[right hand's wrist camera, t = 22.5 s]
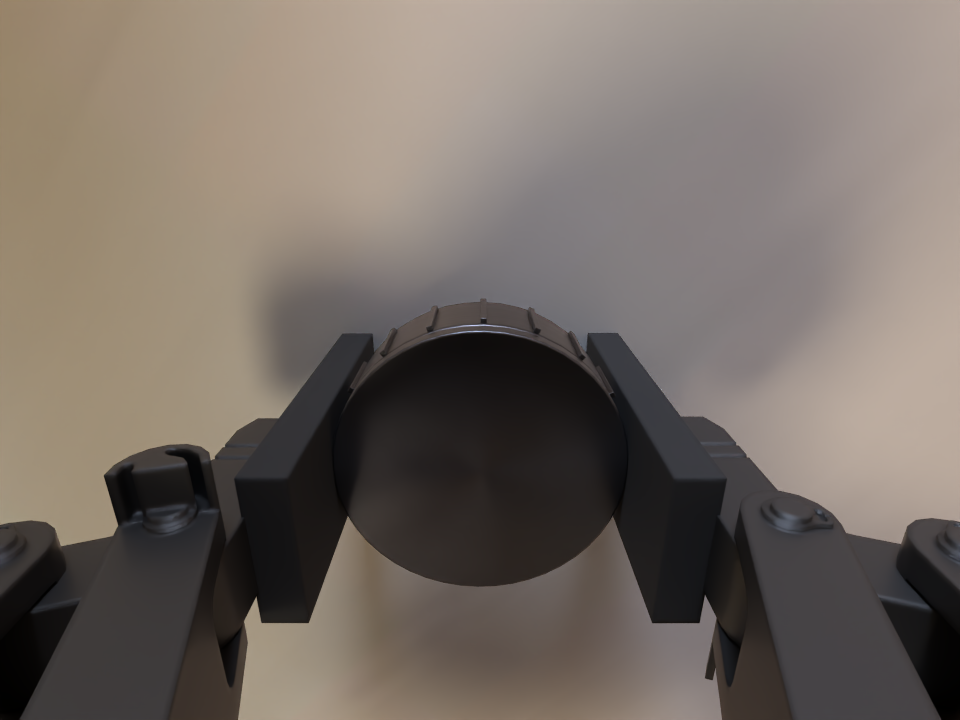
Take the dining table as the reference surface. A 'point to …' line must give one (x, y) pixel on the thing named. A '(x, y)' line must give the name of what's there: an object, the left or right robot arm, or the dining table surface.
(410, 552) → the lid
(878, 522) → the dining table surface
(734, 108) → the dining table surface
